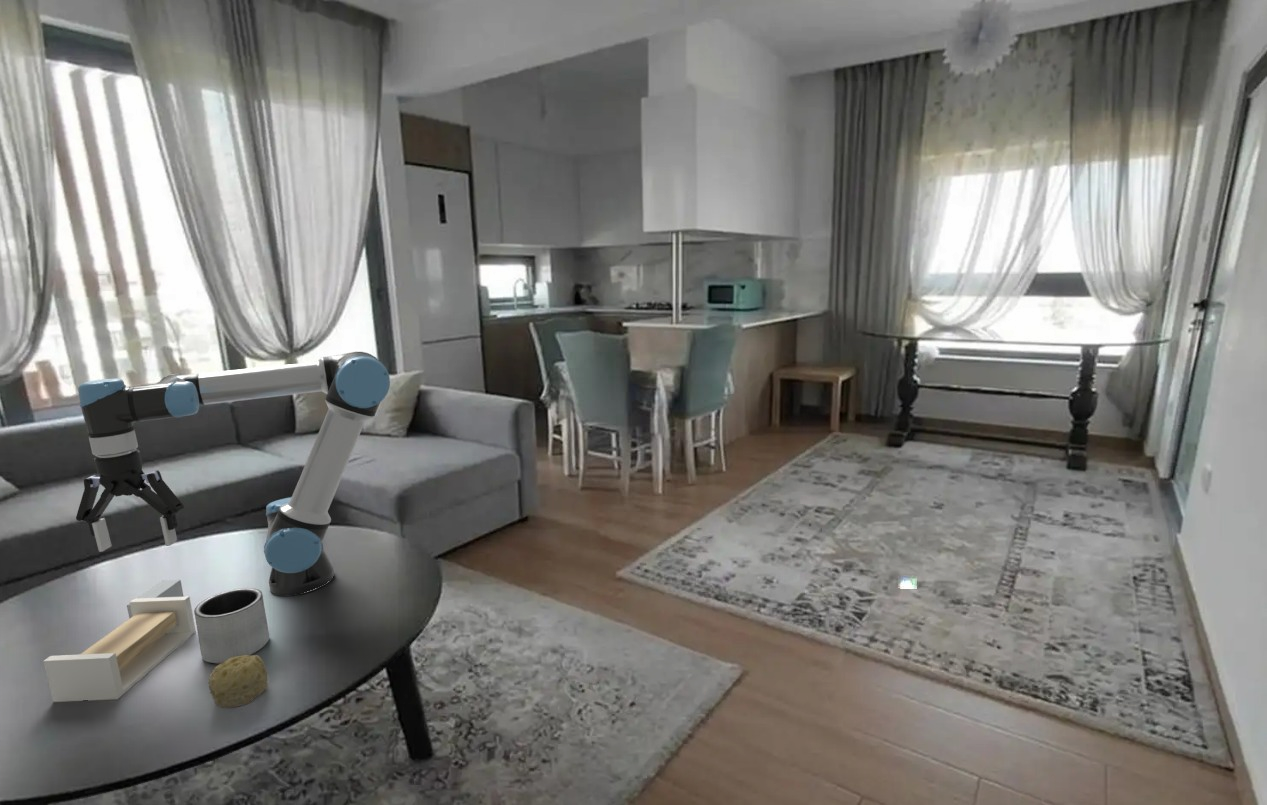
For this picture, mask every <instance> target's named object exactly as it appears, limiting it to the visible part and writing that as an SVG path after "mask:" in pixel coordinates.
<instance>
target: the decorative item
mask: <svg viewBox="0 0 1267 805" xmlns="http://www.w3.org/2000/svg"><path fill="white" fill-rule="evenodd" d="M264 662H265V661H264V660H263V659H262V658H261V657H260V656H259V655H258V654H252V655H242V656H237V657H231V658H229V659H228V660H226V661H225V662H223V663H221V664H218V665H216V666H215V667H214V668H213V670H212V671H211V673H210V675H209V677H208V689H209V691H210V692H209V694H211V696H212V699H213V700H214V704H215V705H216V706H218V707H220V708H226V709H227V708H228V709H230V708H236V707H240V706H244V705H247V704H250V703H252V701H253V700H254V699H255V698H257V697H258V696H260V695H261V693H263V692H264V691H267V689H268V688H269V684H268V672H267V671H268V670H267V667H266V666H265V663H264Z"/></svg>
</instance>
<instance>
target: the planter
mask: <svg viewBox="0 0 1267 805" xmlns="http://www.w3.org/2000/svg"><path fill="white" fill-rule="evenodd" d="M193 612H194V617H195V619H194V620H195V624H196V629H197V630H196V631H197V637H198V643H199V650H200V655H201V657H202V658H201V659H203V660H204V661H205V662H206V663H207V662H208V663H211V664H218V665H219V664H221V663H223V662H225V661H226V660H228V659H229V658H231V657H237V656H242V655H250V656H251V655H255V654H256V653H257V652H259V651H260V650H261V649H263V647H264V646H265V645H266V644H267V643H268V641H269V640H270V630H269V626H268V620H267V614H266V607H265V604H264V594H263V592H262V591H261V590H260V589H258V588H253V587H241V588H234V589H230V590H226V591H221V592H219V593H217V594H214V595H212V596H210V597H208V598H206V599H204V600H202V601H201V602H200V603H199V604H197V605H196V607H194V611H193Z"/></svg>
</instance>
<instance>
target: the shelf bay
mask: <svg viewBox="0 0 1267 805" xmlns="http://www.w3.org/2000/svg"><path fill="white" fill-rule="evenodd" d="M136 598H137V599H136ZM136 598H133V599H132V600H130V601H129V602H128V604H129V603H130V607H131V612H132V617H133V616H134V615H136V614H137V613H153V612H175V617H176V622H177V624H176V625H175V626H174V627H172V628H171V629H170V630H169V631H167V632H166V633H165V634H164V635H162V636H161V637H160V638H159V639H157V640H156V641H155V642H154V643H152V644H151V645H150V646H149V647H148V648H146V649H145V650H144V651H143V652H141V653H140V654H139V655H138V656H136V657H135V658H134V659H133V660H131V661H130V662H129V663H128V664H126V665H125V666H124V667H123V668H122V669H120V670H119V667H118V663H117V658H116V653H103V654H81V653H80V654H81V655H80V654H64V655H63V654H62V655H49V656H48V657H46V659H44V660H43V665H44V668H45V673H46V678H47V682H48V687H49V690H50V694H51V698H52V699H51V700H52V702H53V703H66V702H81V701H83V700H88V701H105V700H119V699H121V697H122V696H123V695H124V694H125V693H126V692H128V691H129V690H130V689H131V688H133V686H135V685H136V684H137V683H138V682H140V681H141V680H142V679H143V678H144V677H145V676H146V675H148V673H150V672H151V671H152V670H154V668H156V667H157V666H158V665H159V664H160V663H161V662H162V661H164V660H165V659H166V658H167V657H169V655H170V654H172V653H173V652H174V651H175V650H176V649H178V648H179V647H180V646H181V645H182V644H183V643H184V642H185V641H187V640H188V639H189V638H191V637H192V635H193V634H195V633H196V631H197V630H196V626H195V624H196V623H195V621H194V620H195V619H194V614H193V609H192V602H191V597H190V595H189V596H187V595H186V596H184V597H161V598H138V597H136ZM83 702H84V701H83Z"/></svg>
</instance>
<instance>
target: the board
mask: <svg viewBox="0 0 1267 805" xmlns="http://www.w3.org/2000/svg"><path fill="white" fill-rule="evenodd" d="M176 624H177V622H176V617H175V612H153V613H137V614H136V615H134V616H133V617H131V618H130V619H129V618H128V619H127V620H126V621H125V622H123V623H121V624H119V626H117V628H114V629H113V630H112V631H110V632H109V633H108V634H106V635H105V636H104V637H102V638H100V639H99V640H98V641H97V642H95V643H93V644H92V645H91V646H90V647H88V648H87V649H85V650H84V651H83V652H81V653H79V655H81V654H103V653H116V658H117V663H118V667H119V670H120V669H122V668H123V667H124V666H125V665H126V664H128V663H129V662H130V661H131V660H133V659H134V658H135V657H136V656H138V655H139V654H140V653H141V652H143V651H144V650H145V649H146V648H148V647H149V646H150V645H151V644H152V643H154V642H155V641H156V640H157V639H159V638H160V637H161V636H162V635H164V634H165V633H166V632H167V631H169V630H170V629H171V628H172V627H174V626H175V625H176Z"/></svg>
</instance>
